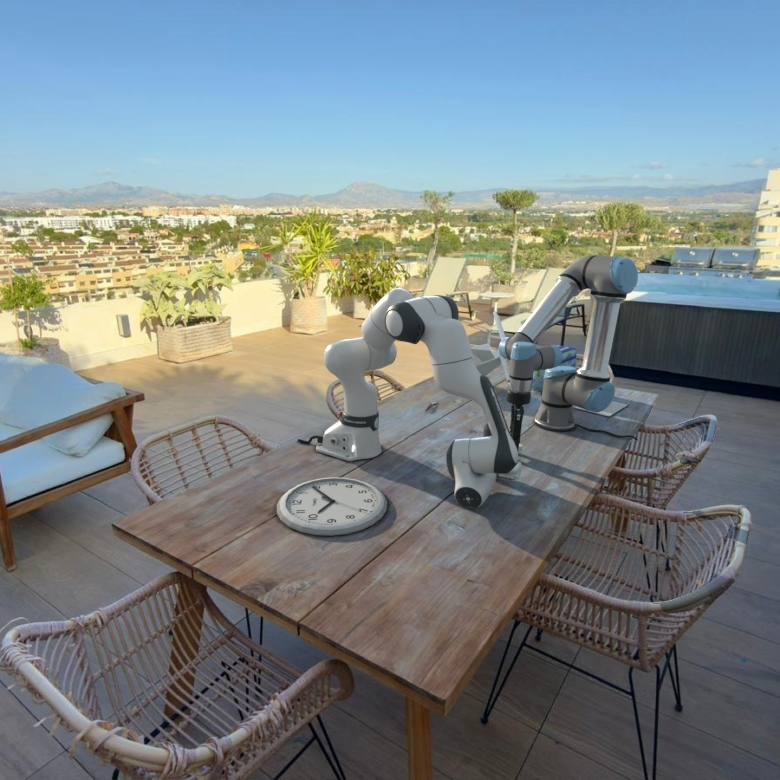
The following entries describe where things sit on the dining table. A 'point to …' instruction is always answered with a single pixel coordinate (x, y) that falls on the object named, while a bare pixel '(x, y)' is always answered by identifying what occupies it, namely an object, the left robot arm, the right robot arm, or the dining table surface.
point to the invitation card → (609, 409)
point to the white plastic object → (490, 354)
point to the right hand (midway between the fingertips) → (512, 455)
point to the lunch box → (567, 360)
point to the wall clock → (331, 506)
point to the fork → (432, 403)
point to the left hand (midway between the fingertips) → (491, 455)
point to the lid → (520, 447)
